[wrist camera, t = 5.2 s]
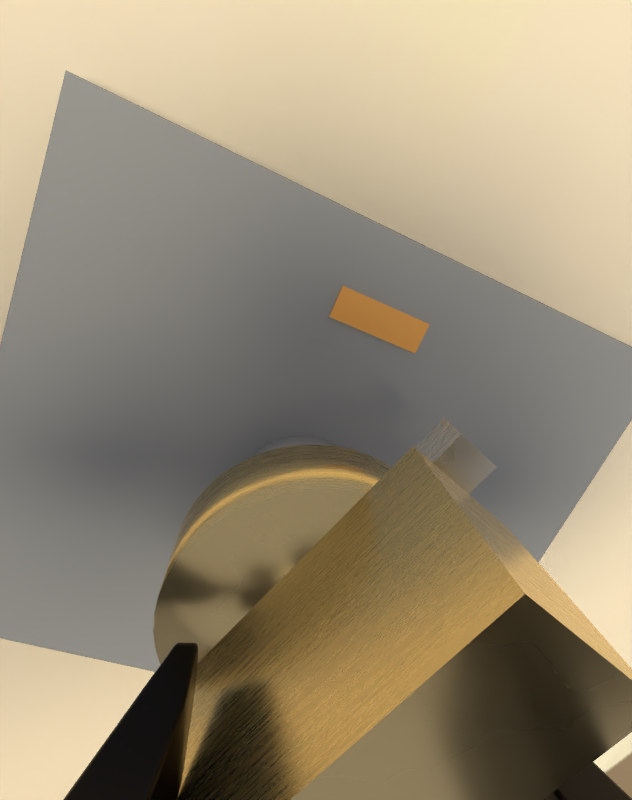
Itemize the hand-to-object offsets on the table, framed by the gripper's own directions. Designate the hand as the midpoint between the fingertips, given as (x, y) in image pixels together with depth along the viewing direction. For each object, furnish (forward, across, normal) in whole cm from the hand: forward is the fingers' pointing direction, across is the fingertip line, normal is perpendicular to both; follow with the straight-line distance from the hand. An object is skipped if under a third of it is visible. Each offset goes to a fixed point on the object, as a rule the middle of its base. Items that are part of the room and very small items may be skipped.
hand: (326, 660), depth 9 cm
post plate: (+8, 0, 0) cm, 8 cm away
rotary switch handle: (+3, 0, 0) cm, 3 cm away
